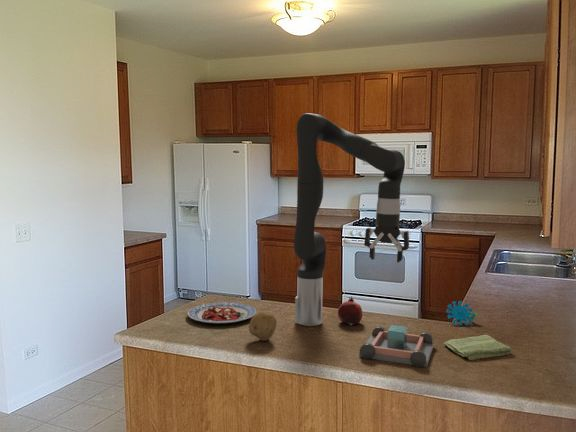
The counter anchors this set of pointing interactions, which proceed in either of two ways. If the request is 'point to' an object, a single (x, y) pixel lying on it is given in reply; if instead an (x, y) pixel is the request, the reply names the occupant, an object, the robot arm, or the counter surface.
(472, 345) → the washcloth
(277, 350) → the counter surface
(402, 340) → the teal glassy cube
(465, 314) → the gear
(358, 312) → the fruit
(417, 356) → the chassis
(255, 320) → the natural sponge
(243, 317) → the ceramic plate
